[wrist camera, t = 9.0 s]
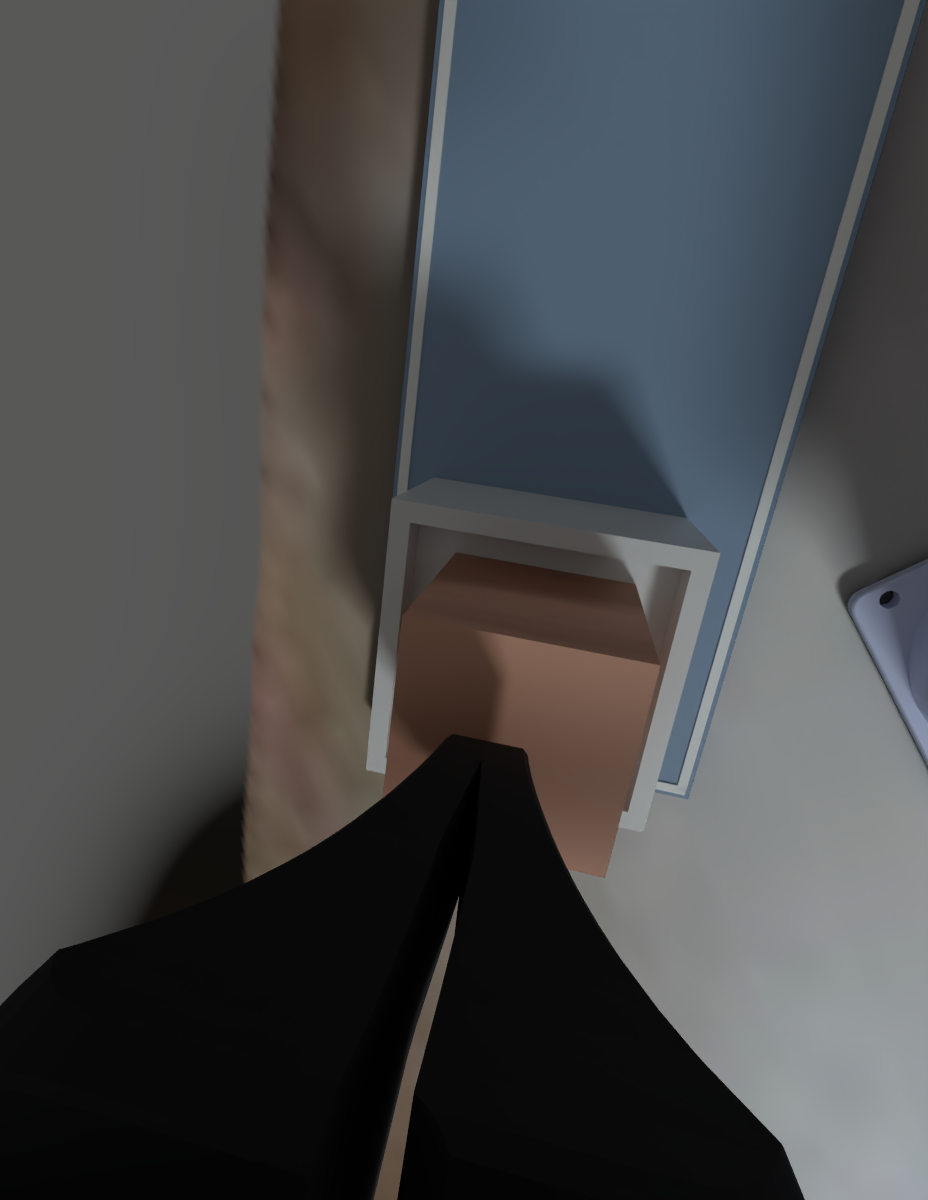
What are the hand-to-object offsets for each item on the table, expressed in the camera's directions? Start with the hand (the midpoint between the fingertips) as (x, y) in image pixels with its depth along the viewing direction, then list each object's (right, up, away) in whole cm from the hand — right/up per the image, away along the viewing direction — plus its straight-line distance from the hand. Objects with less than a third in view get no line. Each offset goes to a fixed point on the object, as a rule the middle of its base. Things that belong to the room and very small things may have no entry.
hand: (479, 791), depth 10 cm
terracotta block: (+1, +2, +5) cm, 6 cm away
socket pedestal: (+2, +3, +9) cm, 10 cm away
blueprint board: (+3, +8, +8) cm, 12 cm away
